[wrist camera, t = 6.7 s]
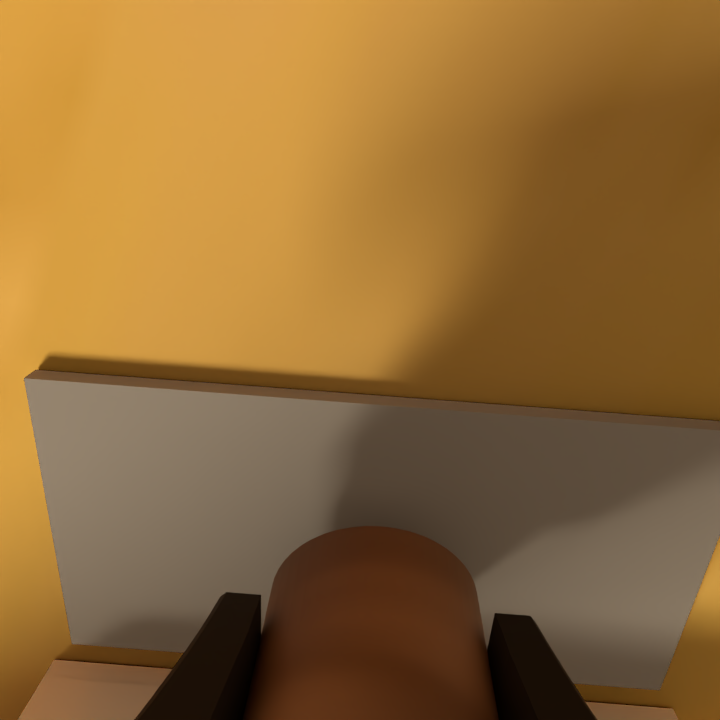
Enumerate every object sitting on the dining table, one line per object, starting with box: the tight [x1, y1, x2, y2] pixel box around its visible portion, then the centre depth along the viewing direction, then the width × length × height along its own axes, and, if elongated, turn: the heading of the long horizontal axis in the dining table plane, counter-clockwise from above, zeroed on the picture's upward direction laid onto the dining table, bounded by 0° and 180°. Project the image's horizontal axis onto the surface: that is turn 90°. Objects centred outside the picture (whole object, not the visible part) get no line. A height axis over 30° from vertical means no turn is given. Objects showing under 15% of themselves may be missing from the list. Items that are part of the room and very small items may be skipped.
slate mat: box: [24, 370, 720, 690], centre depth 13 cm, size 14×7×1 cm, turn 86°
